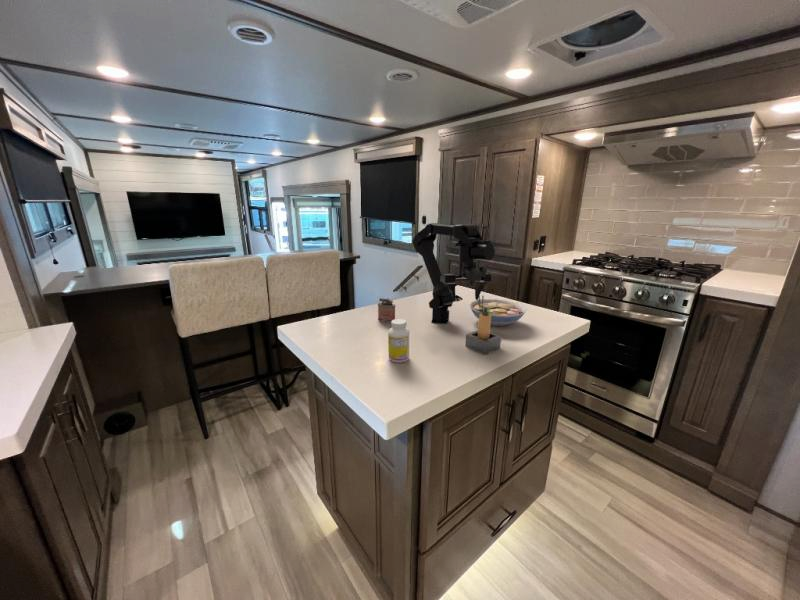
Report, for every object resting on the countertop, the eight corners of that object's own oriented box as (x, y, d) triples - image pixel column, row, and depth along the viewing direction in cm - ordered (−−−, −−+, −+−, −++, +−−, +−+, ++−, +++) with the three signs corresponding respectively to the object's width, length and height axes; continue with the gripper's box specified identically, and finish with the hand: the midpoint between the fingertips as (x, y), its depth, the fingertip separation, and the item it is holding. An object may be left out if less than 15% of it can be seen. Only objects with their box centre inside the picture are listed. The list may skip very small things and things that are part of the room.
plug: (476, 348, 108) (479, 308, 104) (476, 344, 112) (479, 305, 107) (488, 350, 107) (492, 309, 103) (488, 345, 111) (492, 306, 106)
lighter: (396, 321, 134) (396, 298, 131) (393, 323, 131) (393, 300, 128) (380, 318, 137) (379, 296, 134) (376, 320, 134) (376, 298, 131)
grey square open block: (484, 354, 104) (486, 342, 102) (465, 346, 110) (466, 334, 109) (500, 348, 109) (501, 336, 107) (480, 340, 115) (481, 328, 114)
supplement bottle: (393, 352, 105) (393, 316, 101) (412, 356, 103) (412, 319, 99) (385, 361, 99) (384, 323, 95) (404, 365, 97) (404, 326, 93)
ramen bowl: (527, 337, 118) (530, 317, 115) (466, 331, 123) (467, 311, 121) (521, 315, 141) (523, 298, 139) (469, 311, 147) (470, 294, 144)
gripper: (451, 261, 106) (450, 306, 109) (501, 259, 110) (498, 303, 113) (440, 259, 117) (439, 300, 120) (485, 258, 121) (483, 297, 124)
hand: (465, 300), depth 119 cm, fingers open, 9 cm apart
